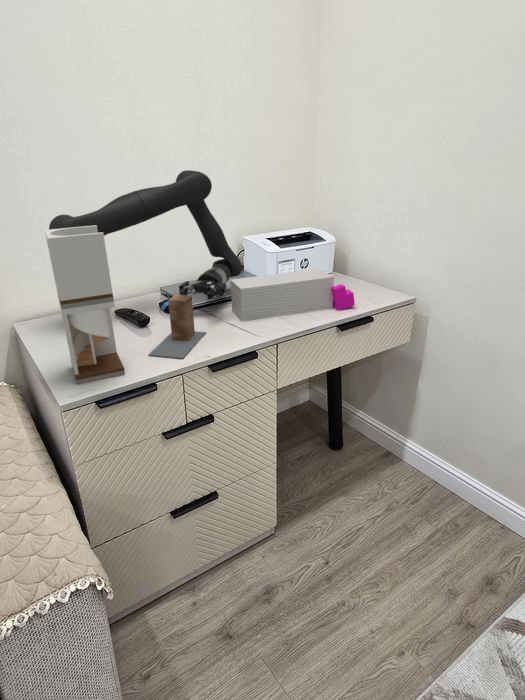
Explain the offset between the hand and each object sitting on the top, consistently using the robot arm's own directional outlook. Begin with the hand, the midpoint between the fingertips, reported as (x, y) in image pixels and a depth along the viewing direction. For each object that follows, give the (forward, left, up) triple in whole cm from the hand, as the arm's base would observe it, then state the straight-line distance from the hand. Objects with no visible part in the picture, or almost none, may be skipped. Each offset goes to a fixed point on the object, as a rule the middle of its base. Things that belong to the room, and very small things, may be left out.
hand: (194, 295), depth 147 cm
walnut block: (-2, -11, -9) cm, 14 cm away
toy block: (+45, +22, -9) cm, 51 cm away
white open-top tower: (-20, -32, -10) cm, 38 cm away
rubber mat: (-3, -15, -9) cm, 18 cm away
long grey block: (+26, +15, -10) cm, 31 cm away
